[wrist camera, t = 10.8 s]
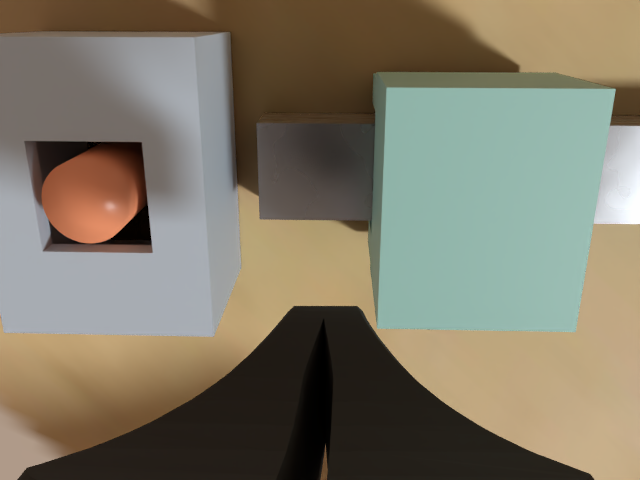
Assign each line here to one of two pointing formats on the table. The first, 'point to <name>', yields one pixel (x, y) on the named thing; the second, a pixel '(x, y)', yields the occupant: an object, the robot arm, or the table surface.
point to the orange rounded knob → (96, 191)
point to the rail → (358, 165)
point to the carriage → (484, 198)
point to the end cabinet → (160, 174)
